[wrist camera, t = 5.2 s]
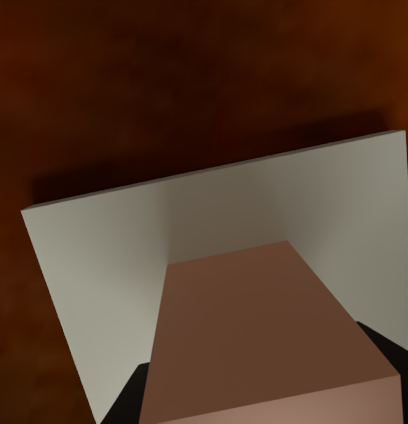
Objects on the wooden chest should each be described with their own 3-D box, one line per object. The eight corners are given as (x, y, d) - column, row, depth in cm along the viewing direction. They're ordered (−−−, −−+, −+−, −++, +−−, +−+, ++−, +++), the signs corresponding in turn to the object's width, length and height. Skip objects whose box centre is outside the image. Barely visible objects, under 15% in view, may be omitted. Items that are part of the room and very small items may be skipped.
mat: (390, 130, 11) (405, 130, 10) (405, 382, 13) (418, 398, 12) (32, 204, 11) (20, 211, 10) (113, 438, 13) (108, 457, 13)
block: (287, 240, 11) (400, 374, 5) (302, 344, 12) (412, 558, 6) (166, 265, 11) (138, 427, 5) (193, 366, 12) (194, 598, 6)
